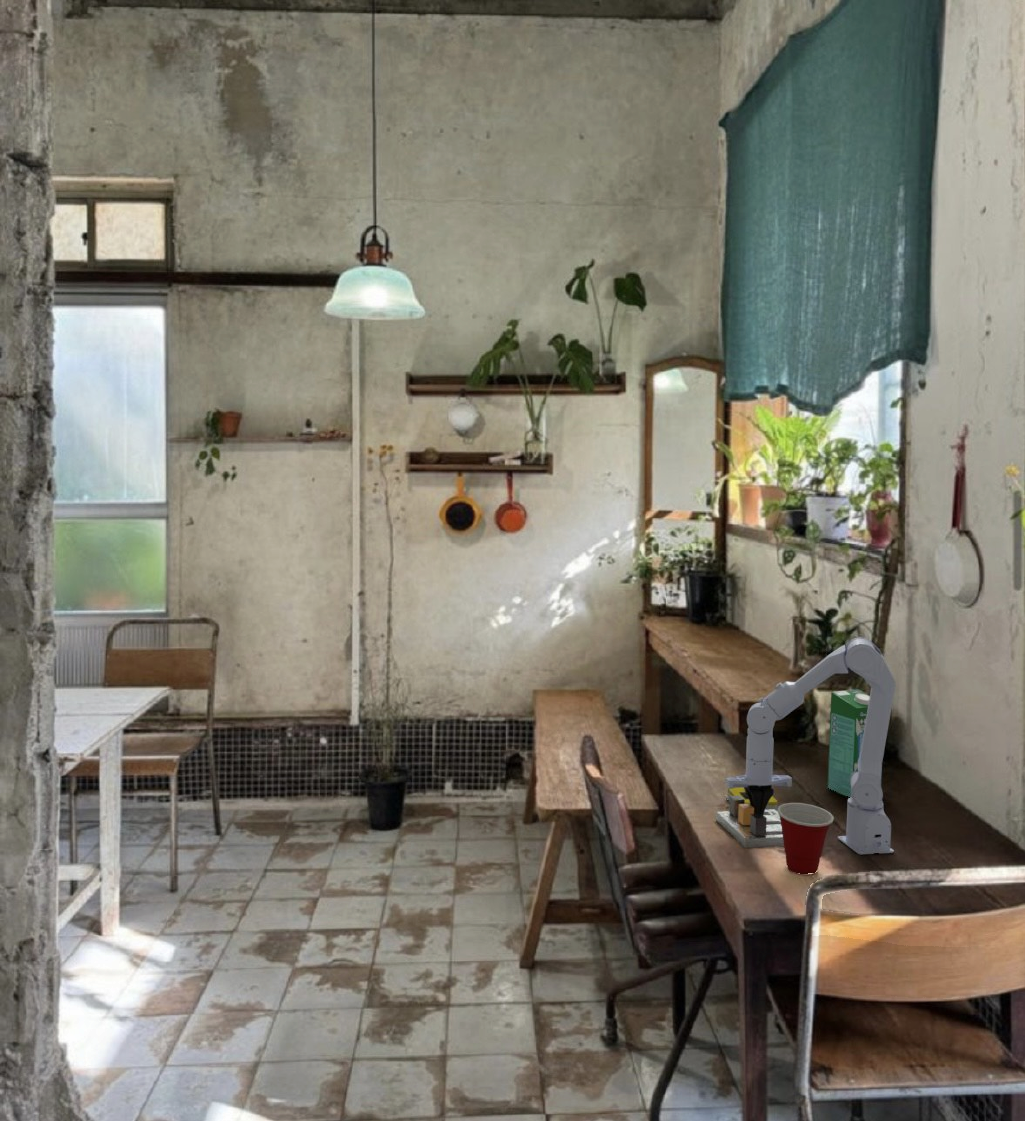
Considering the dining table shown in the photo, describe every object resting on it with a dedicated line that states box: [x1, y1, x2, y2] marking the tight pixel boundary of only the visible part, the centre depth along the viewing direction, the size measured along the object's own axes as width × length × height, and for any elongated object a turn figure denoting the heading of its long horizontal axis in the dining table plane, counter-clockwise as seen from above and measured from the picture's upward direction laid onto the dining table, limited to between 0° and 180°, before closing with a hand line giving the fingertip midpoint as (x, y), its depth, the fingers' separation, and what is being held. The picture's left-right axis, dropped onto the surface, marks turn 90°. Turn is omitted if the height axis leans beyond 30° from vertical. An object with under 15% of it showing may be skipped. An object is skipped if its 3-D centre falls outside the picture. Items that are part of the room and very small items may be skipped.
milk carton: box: [827, 688, 883, 798], centre depth 245 cm, size 9×9×25 cm
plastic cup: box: [777, 802, 834, 875], centre depth 195 cm, size 11×11×12 cm
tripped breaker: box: [738, 804, 754, 825], centre depth 216 cm, size 3×2×4 cm
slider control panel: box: [716, 796, 784, 849], centre depth 216 cm, size 17×14×6 cm
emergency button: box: [724, 787, 779, 812], centre depth 235 cm, size 9×4×15 cm
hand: (757, 818), depth 216 cm, fingers closed
